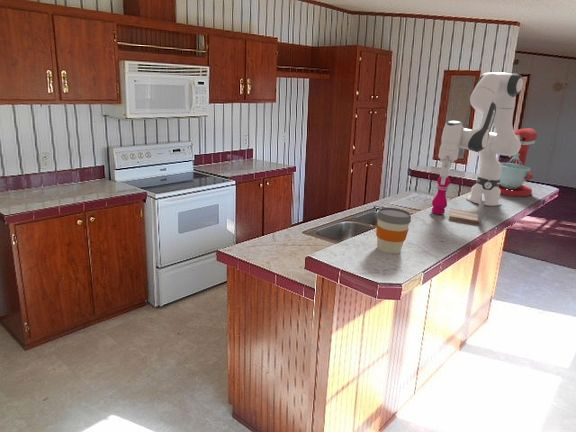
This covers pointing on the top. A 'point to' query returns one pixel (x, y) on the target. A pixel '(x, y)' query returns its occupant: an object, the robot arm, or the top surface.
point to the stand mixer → (518, 167)
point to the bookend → (468, 214)
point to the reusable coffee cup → (392, 229)
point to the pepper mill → (440, 197)
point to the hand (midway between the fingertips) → (443, 182)
